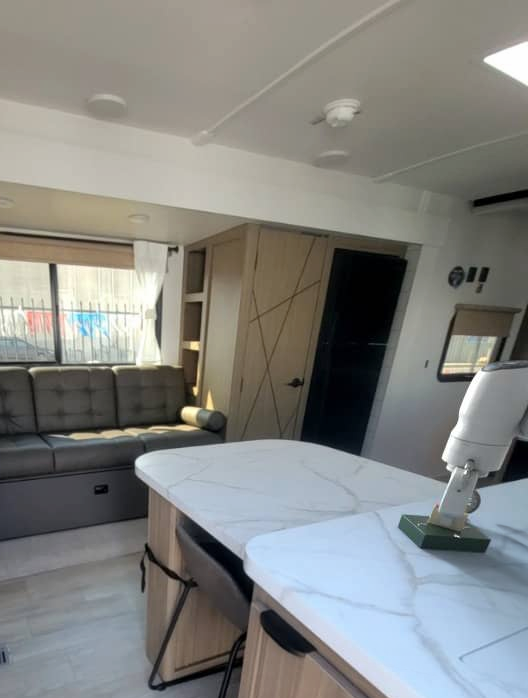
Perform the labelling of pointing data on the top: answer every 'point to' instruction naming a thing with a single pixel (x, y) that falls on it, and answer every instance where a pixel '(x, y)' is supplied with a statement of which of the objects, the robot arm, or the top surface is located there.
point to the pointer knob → (456, 523)
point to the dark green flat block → (442, 535)
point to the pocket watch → (473, 503)
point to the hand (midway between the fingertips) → (445, 522)
